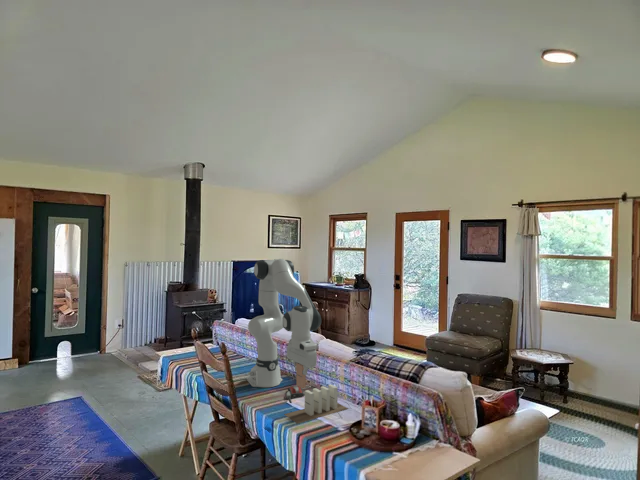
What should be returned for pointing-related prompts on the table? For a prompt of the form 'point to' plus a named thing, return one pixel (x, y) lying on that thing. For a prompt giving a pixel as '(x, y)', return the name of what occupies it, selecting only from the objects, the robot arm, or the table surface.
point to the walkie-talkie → (294, 392)
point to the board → (302, 416)
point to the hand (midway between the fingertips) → (301, 372)
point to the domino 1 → (300, 376)
